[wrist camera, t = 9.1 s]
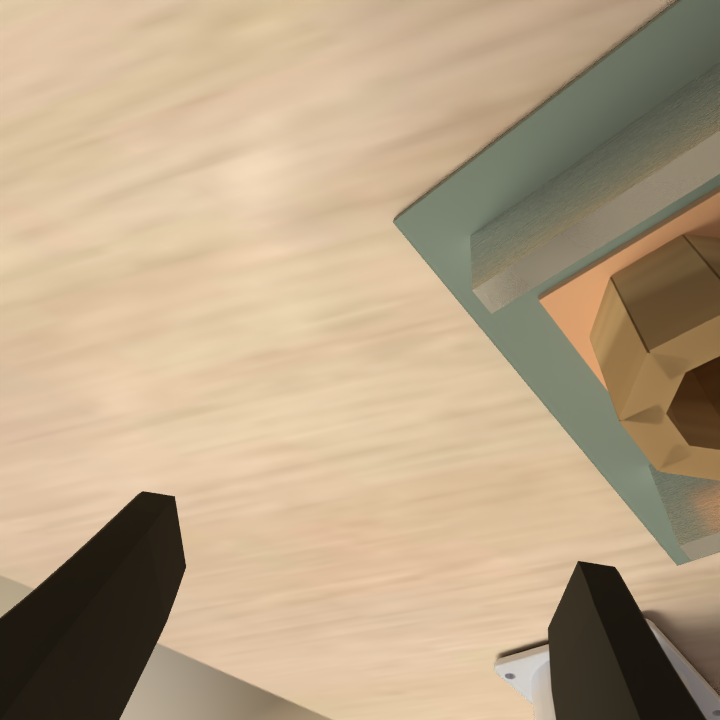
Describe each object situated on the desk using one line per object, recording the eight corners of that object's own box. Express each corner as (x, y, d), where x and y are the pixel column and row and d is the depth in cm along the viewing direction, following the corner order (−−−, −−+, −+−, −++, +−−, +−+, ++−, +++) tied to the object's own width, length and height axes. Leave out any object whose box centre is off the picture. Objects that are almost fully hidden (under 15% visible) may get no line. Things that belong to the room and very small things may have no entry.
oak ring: (812, 334, 17) (900, 424, 13) (644, 412, 19) (683, 504, 16) (739, 200, 15) (818, 265, 12) (563, 303, 17) (588, 381, 14)
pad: (832, 333, 17) (837, 338, 17) (634, 423, 20) (636, 428, 19) (746, 169, 15) (750, 173, 15) (537, 295, 18) (538, 300, 17)
